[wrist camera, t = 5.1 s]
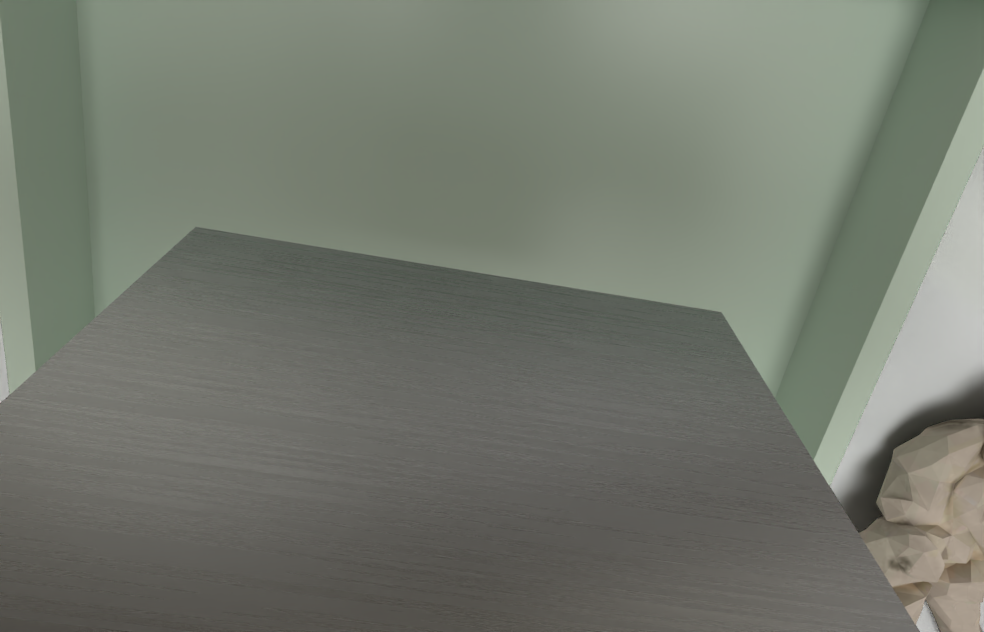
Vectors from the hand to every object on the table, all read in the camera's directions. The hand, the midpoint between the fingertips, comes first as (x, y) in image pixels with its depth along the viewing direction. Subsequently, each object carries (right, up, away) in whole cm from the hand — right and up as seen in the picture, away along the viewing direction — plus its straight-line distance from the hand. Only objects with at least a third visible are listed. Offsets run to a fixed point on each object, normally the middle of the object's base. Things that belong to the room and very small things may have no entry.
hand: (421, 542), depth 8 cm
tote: (0, +5, +9) cm, 11 cm away
